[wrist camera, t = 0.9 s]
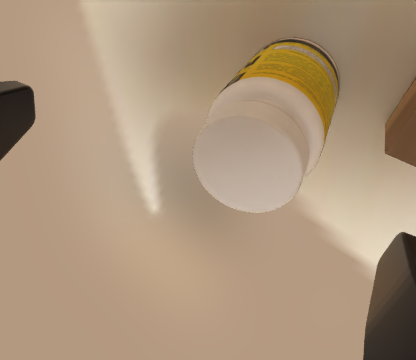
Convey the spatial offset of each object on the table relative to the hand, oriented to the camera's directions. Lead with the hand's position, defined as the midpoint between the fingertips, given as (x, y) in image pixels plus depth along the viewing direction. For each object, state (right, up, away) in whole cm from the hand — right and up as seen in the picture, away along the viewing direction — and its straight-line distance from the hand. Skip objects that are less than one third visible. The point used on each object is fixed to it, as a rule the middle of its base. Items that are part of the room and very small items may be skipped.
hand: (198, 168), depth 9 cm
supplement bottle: (+5, +5, +11) cm, 13 cm away
